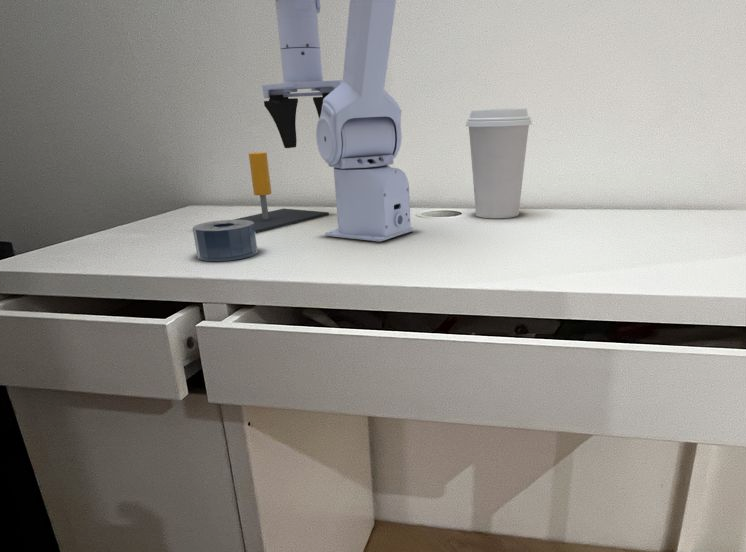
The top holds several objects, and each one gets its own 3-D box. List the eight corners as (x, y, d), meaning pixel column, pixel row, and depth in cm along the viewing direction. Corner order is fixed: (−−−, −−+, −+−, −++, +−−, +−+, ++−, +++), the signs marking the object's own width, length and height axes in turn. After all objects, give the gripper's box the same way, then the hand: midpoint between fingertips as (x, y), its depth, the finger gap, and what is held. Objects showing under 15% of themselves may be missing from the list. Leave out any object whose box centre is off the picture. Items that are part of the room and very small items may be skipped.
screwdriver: (277, 219, 95) (269, 152, 91) (261, 221, 94) (253, 153, 90) (269, 217, 97) (261, 151, 93) (254, 219, 96) (245, 153, 92)
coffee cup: (509, 222, 89) (511, 109, 83) (453, 217, 94) (452, 111, 88) (540, 212, 96) (544, 107, 90) (486, 207, 101) (487, 109, 95)
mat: (329, 214, 100) (328, 212, 100) (244, 235, 86) (243, 233, 86) (283, 210, 105) (283, 208, 105) (196, 230, 91) (196, 227, 91)
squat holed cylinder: (269, 251, 76) (266, 221, 75) (225, 264, 71) (220, 232, 70) (230, 246, 80) (226, 218, 79) (185, 257, 75) (180, 227, 73)
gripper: (243, 51, 90) (255, 149, 95) (323, 44, 83) (332, 150, 88) (276, 53, 96) (286, 146, 101) (353, 47, 89) (360, 146, 94)
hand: (309, 147), depth 95 cm, fingers open, 7 cm apart
